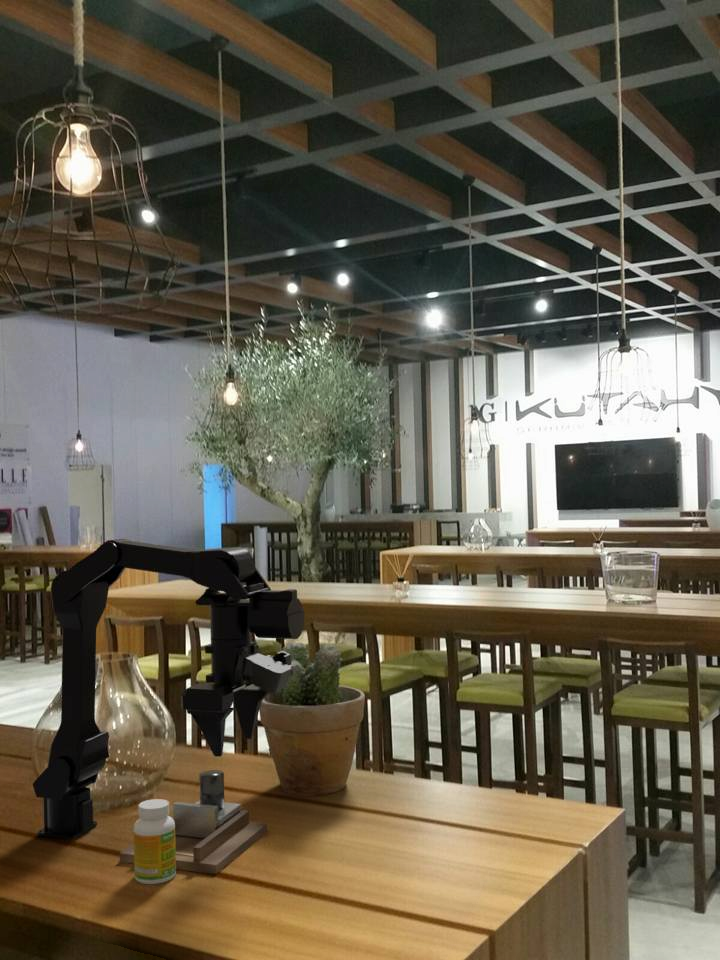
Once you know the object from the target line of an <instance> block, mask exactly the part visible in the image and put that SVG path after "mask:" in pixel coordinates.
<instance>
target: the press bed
mask: <svg viewBox="0 0 720 960" xmlns="http://www.w3.org/2000/svg"><path fill="white" fill-rule="evenodd" d="M171 818H172V819H173V817H171ZM266 833H268V823H265V822H257V821H250V811H249V810H246V809H245V810H241V812H240V813H239V814H237V815H236V816H235V817H233V818H232V819H231V820H229V821H228V822H227V823H225V824H224V825H223V826H221V827H220V828H219V829H217V830H216V831H215V832H213V833H212V834H211V835H209V836H208V837H207V838H200V837H191V836H182V835H175V845H176V870H181V871H190V872H197V873H203V874H205V873H206V874H214V875H218V874H219V873H220V872H221V871H222V870H223V869H224V867H225V866H226V865H227V864H228V865H229V864H230V863H232V862H233V861H234V860H235V859H237V858H238V857H239V856H240V855H241V854H242V853H243V852H245V851H247V849H249V848H250V847H251V846H252V845H253V844H254V843H256V842H257V841H258V840H259V839H261V838H262V837H261V836H264V835H265V834H266ZM249 846H250V847H249ZM237 856H238V857H237ZM233 859H234V860H233ZM232 860H233V861H232ZM231 861H232V862H231ZM119 862H120V863H126V864H134V843H133V844H131V845H130V846H128V847H127V848H125V849H124V850H122V851H120V852H119ZM228 865H227V866H228ZM227 866H226V867H227ZM226 867H225V868H226ZM218 872H219V873H218Z"/></svg>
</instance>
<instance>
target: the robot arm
mask: <svg viewBox="0 0 720 960" xmlns="http://www.w3.org/2000/svg"><path fill="white" fill-rule="evenodd" d="M126 569H131V570H138V571H145V572H152V573H157V574H158V573H159V574H163V575H166V574H167V575H169V576H170V575H171V576H177V577H183V578H186V579H188V580H190V581H192V582H194V583H195V584H197V585H200V586H201V587H205V588H206V589H205V591H204V592H203V593H202V594H201V596H199V598H198V599H196V600H195V603H194V604H195V605H197V606H206V607H207V606H209V619H210V620H209V621H210V622H209V624H210V625H209V627H210V629H209V630H210V644H207V645H205V646H204V654H209V655H210V664H211V665H210V666H211V667H210V669H211V670H210V671H211V673H208V674H206V675H205V683H200V682H199V683H196V684H193V685H192V686H189V687H187V688H186V689H185V690H184V691H183V692H182V693H181V694H180V699H181V700H180V703H181V704H180V705H181V707H180V708H181V709H182V711H183V710H184V711H185V710H186V713H187V715H191V717H192V719H193V720H194V721H195V723H196V725H197V726H198V728H199V729H200V732H201V733H202V735H203V738H204V739H205V742H206V743H207V745H208V747H209V749H210V751H211V753H212V755H213V756H214V757H217V758H218V757H222V756H223V753H224V752H223V751H224V744H225V731H226V721H227V719H228V717H229V716H230V714H232V712H233V711H234V710H236V716H237V719H238V722H239V725H240V729H241V732H242V735H243V738H244V739H245V740H251V739H253V737H254V736H253V735H254V731H255V729H256V728H255V727H256V725H257V720H258V715H259V714H260V711H259V709H260V706H261V703H262V700H263V699H264V698H265V697H266V696H267V695H268V694H269V693H271V694H276V693H278V691H280V690H281V689H283V690H284V689H285V687H286V684H287V681H288V678H289V677H290V676H292V675H293V670H292V668H293V665H292V663H291V656H290V654H288V653H286V652H284V651H283V650H281V651H279V652H277V653H275V654H274V655H273V656H272V655H270V654H268V655H264V654H261V653H260V649H259V648H260V647H259V644H258V642H257V641H252V634H254V635H255V637H256V638H258V639H259V638H260V639H282V640H283V639H285V640H297V639H299V638H300V636H301V635H302V633H303V630H304V626H305V611H304V609H303V605H302V602H301V600H300V599H299V598H298V590H297V589H295V588H294V589H293V588H291V589H284V590H283V589H282V590H272V589H271V587H270V586H269V585H268V583H267V582H266V579H264V577H263V576H262V574H261V573H260V571H259V570H258V568H256V562H255V559H254V556H253V555H252V554H251V553H250V551H249V550H248V549H247V548H244V547H241V546H239V547H238V546H235V547H233V546H232V547H221V548H220V547H218V548H209V549H208V548H207V549H205V548H204V549H191V548H184V547H176V546H169V545H164V544H163V545H162V544H154V543H148V542H140V541H133V540H130V539H128V538H118V539H108V540H106V541H104V542H103V543H102V544H101V545H99V546H98V547H97V548H96V549H95V550H94V551H93V552H92V553H90V554H88V555H87V556H85V557H84V558H83V559H81V560H79V561H78V562H76V563H74V565H72V566H71V567H70V568H69V569H67V570H63V571H61V572H59V573H58V574H57V575H56V576H55V578H52V582H51V585H50V596H51V602H52V610H53V613H54V615H55V617H56V619H57V621H58V623H59V624H60V627H61V630H62V636H61V637H62V642H61V643H62V645H61V647H62V648H61V649H62V650H61V651H62V652H61V692H60V693H61V696H60V697H61V702H60V703H61V704H60V707H61V708H60V725H59V726H58V728H57V731H56V733H55V735H54V738H53V740H52V742H51V744H50V747H49V748H50V749H49V754H48V760H47V767H46V768H45V769H44V770H43V771H42V773H40V774H39V776H38V777H37V778H36V779H35V780H34V782H33V783H32V787H33V790H34V795H35V797H36V798H40V799H43V803H42V804H43V828H41V829H40V830H38V831H36V832H37V833H36V834H37V835H36V836H41V837H50V838H56V839H58V838H59V839H65V840H73V839H76V838H78V837H79V836H81V835H83V834H84V833H86V832H89V831H90V830H91V829H93V828H95V827H97V825H98V821H96V820H94V814H93V813H94V804H93V801H94V800H93V798H91V788H90V787H88V786H90V785H92V784H95V783H96V782H97V779H98V776H99V773H100V772H101V771H102V769H104V767H105V765H106V762H107V759H108V758H110V756H111V755H110V752H109V747H108V746H109V738H110V734H109V731H101V730H100V727H99V725H98V724H97V722H96V718H95V716H96V711H95V710H96V674H97V673H96V667H97V666H96V665H97V663H96V661H97V657H96V656H97V627H98V624H99V622H100V620H101V619H102V617H103V616H102V615H103V614H104V611H105V610H106V606H107V602H108V597H109V596H108V594H109V588H110V587H112V586H113V585H114V584H115V583H116V582H117V581H118V580H119V579H120V578H121V577H122V574H123V573H124V571H125V570H126ZM233 704H234V707H233Z"/></svg>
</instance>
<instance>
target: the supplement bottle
mask: <svg viewBox="0 0 720 960" xmlns="http://www.w3.org/2000/svg"><path fill="white" fill-rule="evenodd" d="M169 814H170V802H169V800H166V799H161V798H155V799H154V798H153V799H152V798H151V799H147V800H144V801H141V802H140V803H139V804H138V817H139V818H138V819H137V820H136V822H134V825H133V844H134V863H133V864H134V879H135V880H136V881H137V882H138V883H140V884H144V885H156V884H157V885H159V884H163V883H167V882H169V881H170V880H172V879H173V878H174V877H175V876H176V872H177V869H176V845H175V822H174V820H173V819H172V818H173V817H171V816H170V815H169Z"/></svg>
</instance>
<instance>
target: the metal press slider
mask: <svg viewBox="0 0 720 960" xmlns="http://www.w3.org/2000/svg"><path fill="white" fill-rule="evenodd" d="M198 775H199V777H198V779H199V780H198V781H199V800H198V801H195V802H194V803H192V802H183V801H175V802H174V803H172V818H173V820H174V822H175V835H182V836H191V837H200V838H207V837H208V836H209V835H211V834H212V833H213V832H215V831H216V830H217V829H219V828H220V827H221V826H223V825H224V824H225V823H227V822H228V821H229V820H231V819H232V818H233V817H235V816H236V815H237V814H239V813H240V812H241V811H242V804H241V803H235V802H226V801H225V773H224V771H223V770H218V769H217V770H216V769H211V770H210V769H209V770H204V771H201V772H200V773H199V774H198Z"/></svg>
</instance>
